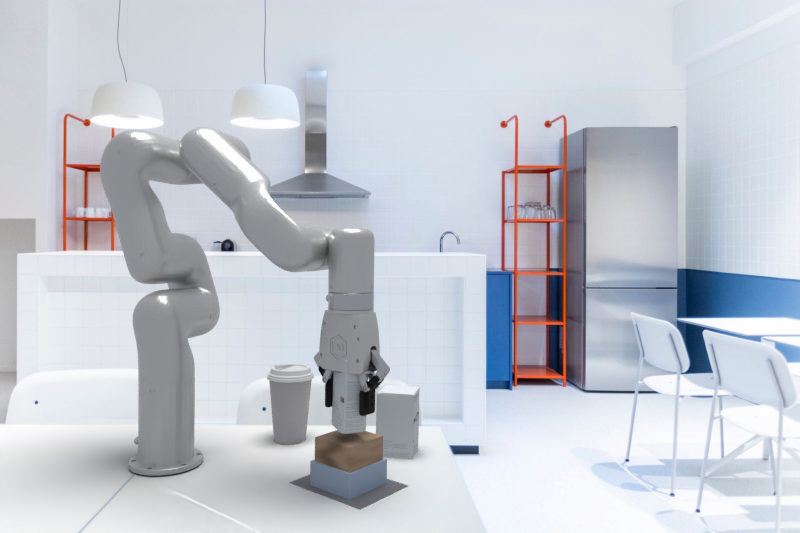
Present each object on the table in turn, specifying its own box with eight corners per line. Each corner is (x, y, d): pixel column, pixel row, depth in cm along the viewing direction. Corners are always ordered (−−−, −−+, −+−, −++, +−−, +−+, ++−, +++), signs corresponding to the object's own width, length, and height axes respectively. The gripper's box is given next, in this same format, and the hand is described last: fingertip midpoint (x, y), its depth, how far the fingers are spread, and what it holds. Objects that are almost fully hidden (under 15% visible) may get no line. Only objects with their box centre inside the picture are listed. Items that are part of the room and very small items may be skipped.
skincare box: (330, 424, 102) (331, 353, 102) (355, 422, 104) (356, 352, 104) (342, 435, 97) (343, 359, 96) (368, 432, 99) (369, 358, 98)
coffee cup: (295, 429, 131) (295, 361, 131) (322, 440, 125) (323, 367, 124) (257, 439, 125) (257, 366, 124) (284, 450, 118) (284, 374, 118)
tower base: (310, 485, 100) (310, 461, 100) (347, 470, 107) (347, 447, 107) (349, 499, 94) (350, 474, 94) (386, 482, 101) (387, 459, 101)
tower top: (314, 461, 100) (314, 437, 100) (348, 449, 106) (348, 426, 106) (350, 472, 95) (350, 447, 95) (382, 459, 101) (383, 435, 101)
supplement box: (412, 462, 113) (414, 394, 113) (374, 458, 114) (375, 392, 114) (419, 449, 120) (420, 386, 120) (383, 446, 122) (384, 383, 121)
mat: (288, 484, 101) (288, 482, 101) (339, 465, 110) (339, 463, 110) (359, 511, 91) (360, 509, 91) (408, 488, 100) (408, 485, 100)
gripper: (298, 300, 102) (297, 405, 103) (376, 308, 91) (374, 424, 92) (329, 298, 108) (328, 397, 109) (406, 305, 97) (404, 414, 98)
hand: (349, 409), depth 100 cm, fingers closed on skincare box, 7 cm apart
